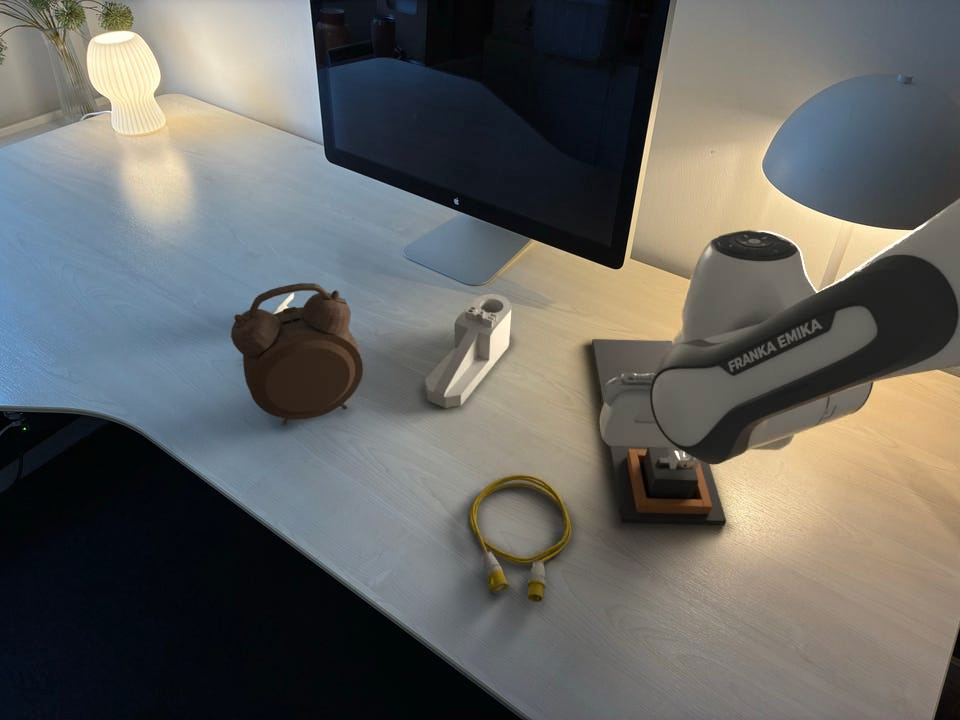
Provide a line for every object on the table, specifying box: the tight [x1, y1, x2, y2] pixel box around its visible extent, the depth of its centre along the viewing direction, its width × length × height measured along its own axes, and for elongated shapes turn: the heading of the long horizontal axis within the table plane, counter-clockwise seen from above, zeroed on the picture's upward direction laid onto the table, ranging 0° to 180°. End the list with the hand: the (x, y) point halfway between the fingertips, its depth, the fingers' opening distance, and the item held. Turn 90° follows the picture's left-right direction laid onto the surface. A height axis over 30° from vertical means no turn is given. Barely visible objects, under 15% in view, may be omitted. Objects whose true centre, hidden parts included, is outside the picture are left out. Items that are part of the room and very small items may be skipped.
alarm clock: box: [230, 282, 364, 427], centre depth 85 cm, size 14×7×20 cm, turn 113°
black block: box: [642, 447, 699, 500], centre depth 80 cm, size 5×5×4 cm
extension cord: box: [468, 474, 572, 603], centre depth 77 cm, size 12×16×2 cm
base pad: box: [591, 338, 727, 527], centre depth 90 cm, size 32×12×2 cm, turn 179°
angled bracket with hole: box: [424, 293, 512, 409], centre depth 96 cm, size 6×18×8 cm, turn 151°
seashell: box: [272, 292, 295, 315], centre depth 102 cm, size 8×5×8 cm
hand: (681, 465), depth 78 cm, fingers closed
